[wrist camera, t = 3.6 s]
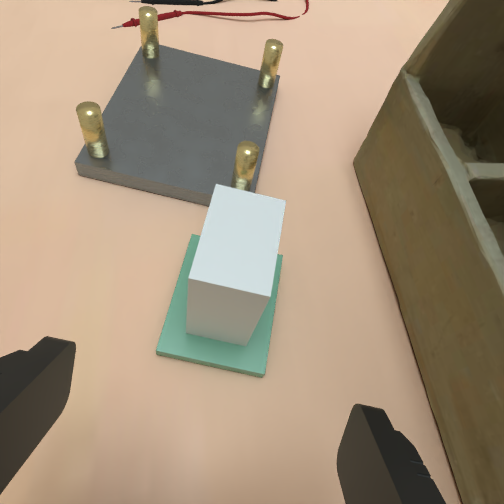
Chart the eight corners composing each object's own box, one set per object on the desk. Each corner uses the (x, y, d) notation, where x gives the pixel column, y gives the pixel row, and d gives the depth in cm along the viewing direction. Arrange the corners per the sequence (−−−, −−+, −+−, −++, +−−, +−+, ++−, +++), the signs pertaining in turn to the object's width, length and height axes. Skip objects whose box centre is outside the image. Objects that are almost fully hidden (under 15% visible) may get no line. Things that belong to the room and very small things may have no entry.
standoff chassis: (276, 88, 41) (289, 37, 36) (248, 215, 32) (260, 169, 27) (145, 54, 40) (140, -2, 35) (78, 175, 31) (60, 120, 26)
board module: (279, 261, 30) (314, 187, 22) (261, 377, 25) (297, 333, 18) (191, 241, 30) (196, 158, 22) (156, 354, 25) (146, 299, 17)
